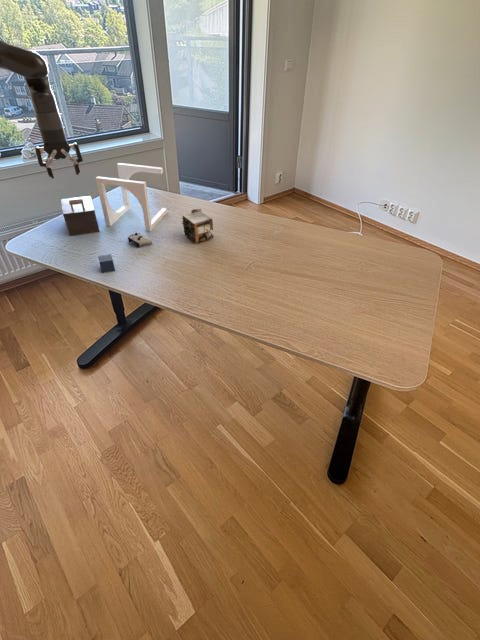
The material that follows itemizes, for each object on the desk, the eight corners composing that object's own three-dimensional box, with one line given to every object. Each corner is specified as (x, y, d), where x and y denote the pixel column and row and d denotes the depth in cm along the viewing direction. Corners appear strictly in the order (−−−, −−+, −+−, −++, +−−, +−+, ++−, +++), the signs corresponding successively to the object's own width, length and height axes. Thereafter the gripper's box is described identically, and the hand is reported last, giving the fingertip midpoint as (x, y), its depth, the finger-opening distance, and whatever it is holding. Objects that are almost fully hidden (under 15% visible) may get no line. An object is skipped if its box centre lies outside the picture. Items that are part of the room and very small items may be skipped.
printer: (203, 227, 154) (201, 206, 148) (224, 251, 136) (223, 228, 130) (179, 231, 150) (176, 210, 144) (197, 257, 132) (195, 234, 126)
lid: (95, 212, 137) (92, 199, 134) (63, 216, 133) (59, 203, 130) (90, 197, 148) (87, 186, 144) (61, 201, 144) (57, 189, 141)
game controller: (154, 241, 138) (144, 235, 132) (147, 253, 138) (137, 247, 133) (139, 233, 142) (129, 226, 137) (133, 244, 142) (122, 238, 137)
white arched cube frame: (126, 207, 163) (118, 162, 150) (167, 212, 160) (162, 167, 147) (106, 225, 148) (95, 177, 135) (150, 231, 146) (143, 183, 132)
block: (102, 273, 121) (99, 262, 118) (100, 266, 124) (97, 256, 121) (115, 270, 122) (112, 260, 120) (113, 264, 125) (110, 253, 123)
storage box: (99, 231, 144) (94, 211, 138) (69, 236, 140) (63, 215, 134) (95, 217, 153) (90, 197, 148) (67, 220, 150) (61, 201, 144)
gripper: (71, 122, 121) (83, 170, 131) (25, 125, 115) (42, 175, 125) (75, 127, 116) (87, 176, 127) (29, 130, 110) (45, 182, 121)
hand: (65, 176), depth 126 cm, fingers open, 8 cm apart
